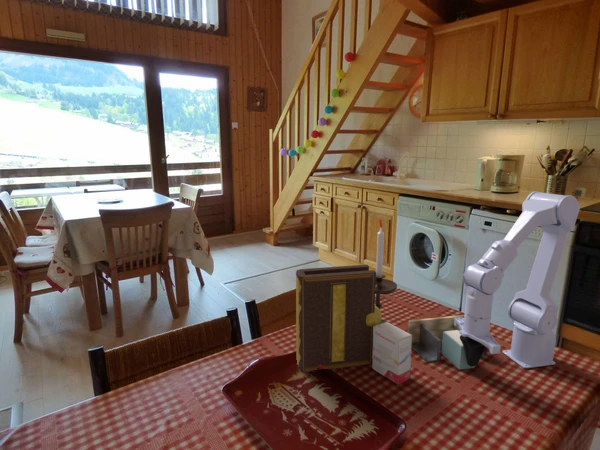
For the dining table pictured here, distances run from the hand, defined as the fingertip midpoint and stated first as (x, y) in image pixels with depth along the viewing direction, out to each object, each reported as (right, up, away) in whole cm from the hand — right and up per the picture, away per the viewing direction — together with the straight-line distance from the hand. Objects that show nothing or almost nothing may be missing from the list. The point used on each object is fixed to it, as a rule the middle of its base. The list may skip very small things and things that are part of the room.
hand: (472, 364), depth 92 cm
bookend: (-9, 0, +10) cm, 13 cm away
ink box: (-20, -3, 0) cm, 20 cm away
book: (-33, -1, +6) cm, 33 cm away
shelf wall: (-3, +1, +16) cm, 16 cm away
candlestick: (-19, +2, +23) cm, 30 cm away
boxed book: (-1, -1, +6) cm, 6 cm away
